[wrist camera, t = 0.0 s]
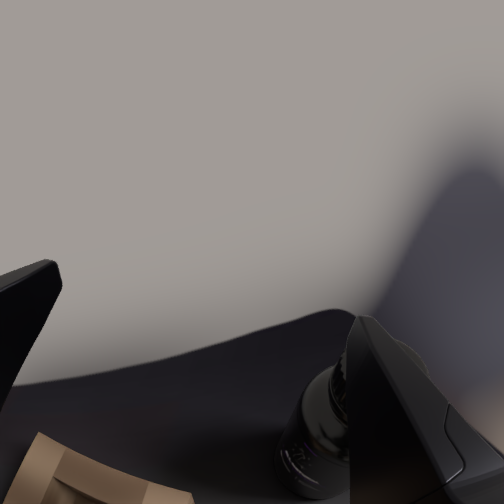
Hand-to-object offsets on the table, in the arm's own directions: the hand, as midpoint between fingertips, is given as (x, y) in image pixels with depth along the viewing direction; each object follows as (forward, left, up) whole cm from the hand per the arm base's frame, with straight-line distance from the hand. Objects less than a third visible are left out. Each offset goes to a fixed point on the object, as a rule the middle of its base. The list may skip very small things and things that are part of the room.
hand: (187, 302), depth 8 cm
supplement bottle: (+3, -8, -17) cm, 19 cm away
